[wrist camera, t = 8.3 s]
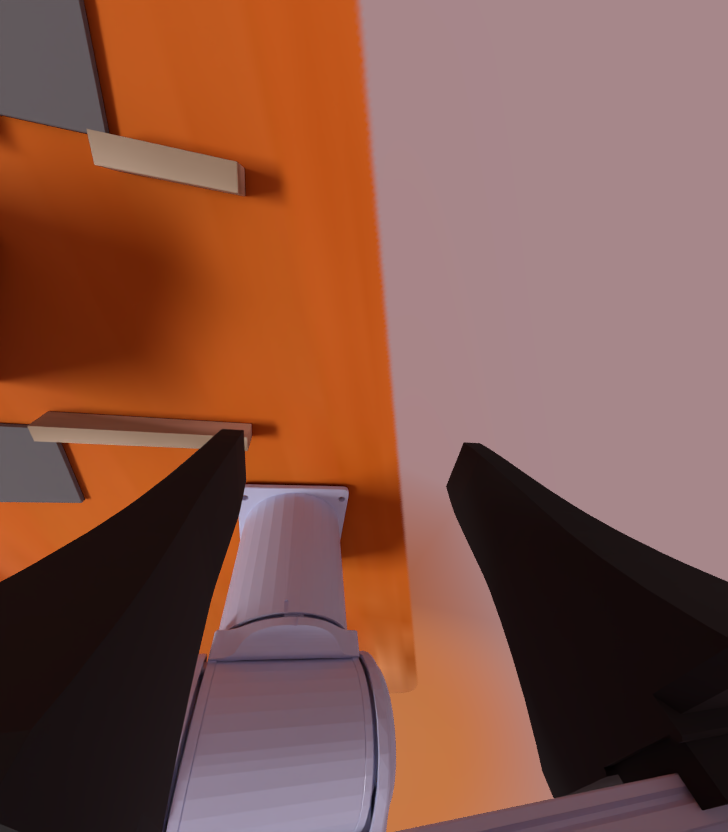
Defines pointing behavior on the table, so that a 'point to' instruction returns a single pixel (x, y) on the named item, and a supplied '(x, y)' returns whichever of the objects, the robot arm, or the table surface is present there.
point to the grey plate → (64, 108)
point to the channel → (146, 430)
